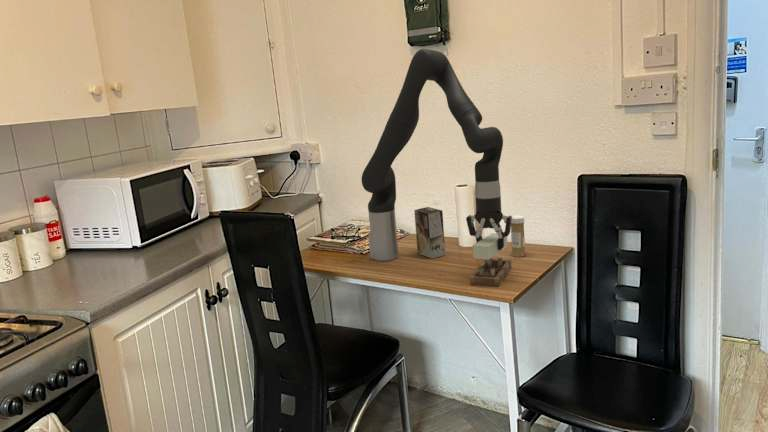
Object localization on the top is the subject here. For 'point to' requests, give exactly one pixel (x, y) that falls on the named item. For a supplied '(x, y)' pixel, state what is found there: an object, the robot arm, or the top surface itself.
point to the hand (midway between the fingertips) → (490, 248)
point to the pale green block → (487, 247)
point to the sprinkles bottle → (517, 236)
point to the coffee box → (430, 232)
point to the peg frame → (491, 264)
